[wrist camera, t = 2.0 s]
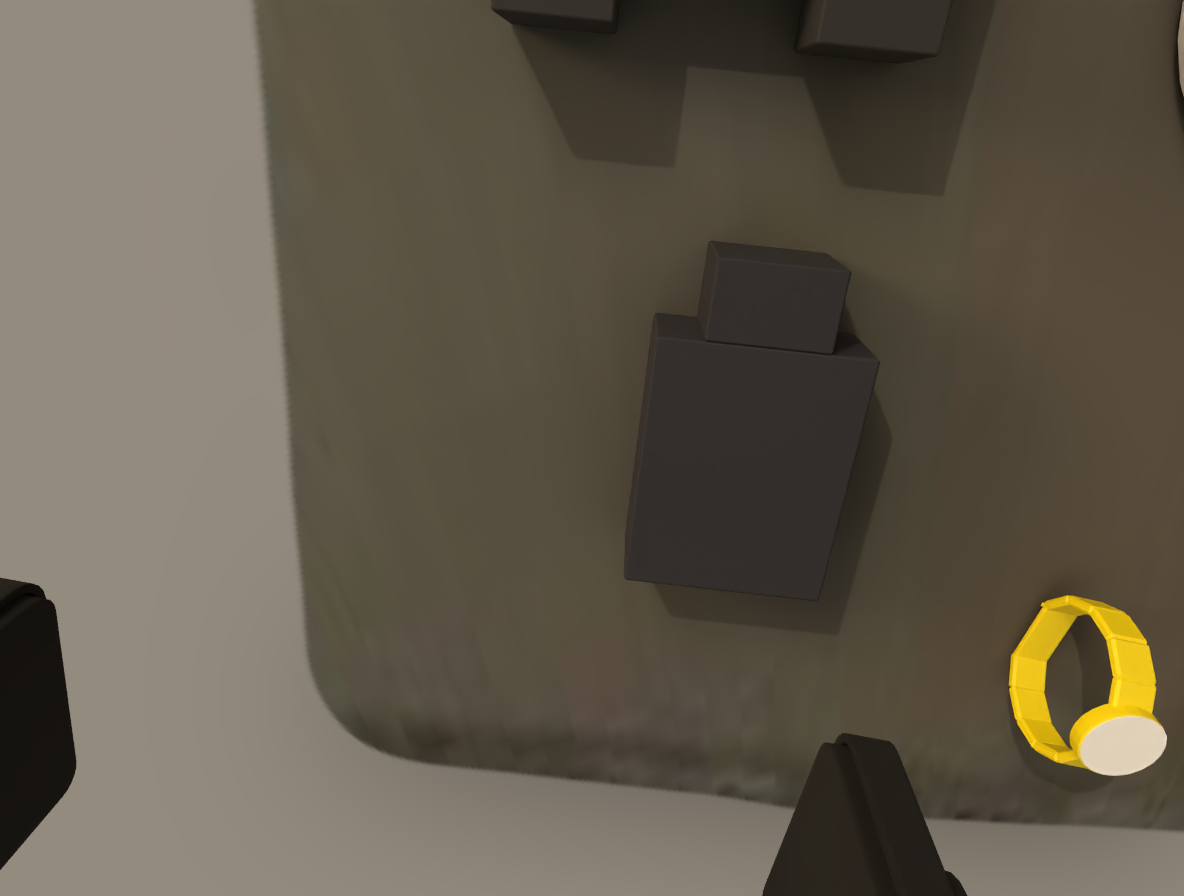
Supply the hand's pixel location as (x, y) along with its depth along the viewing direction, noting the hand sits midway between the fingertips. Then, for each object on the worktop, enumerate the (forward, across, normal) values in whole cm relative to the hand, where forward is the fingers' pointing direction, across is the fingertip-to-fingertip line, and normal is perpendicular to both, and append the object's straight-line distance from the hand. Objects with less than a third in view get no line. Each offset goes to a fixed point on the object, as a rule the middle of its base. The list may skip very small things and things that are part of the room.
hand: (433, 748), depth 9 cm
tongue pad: (+19, -6, +2) cm, 21 cm away
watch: (+20, -21, +9) cm, 30 cm away
